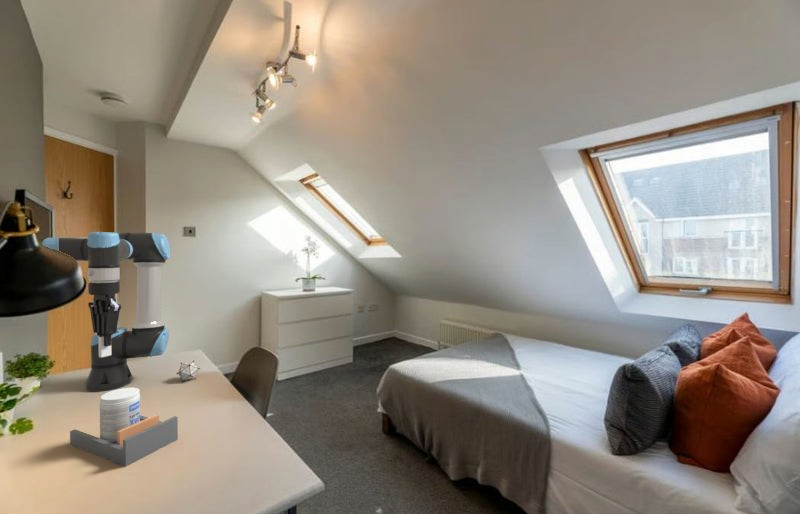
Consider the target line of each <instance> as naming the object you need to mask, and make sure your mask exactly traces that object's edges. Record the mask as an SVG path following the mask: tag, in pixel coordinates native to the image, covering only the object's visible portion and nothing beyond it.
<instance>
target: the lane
mask: <svg viewBox="0 0 800 514" xmlns="http://www.w3.org/2000/svg"><path fill="white" fill-rule="evenodd" d="M147 418H148V417H147V416H143V415H141V414H140V421H142V420H145V419H147ZM178 418H179V417H178V416H175V415H174V416H172V417H169V418H168V419H165V420H163V421H160V420H159V424H157V425H154V426H152V427H150V428H148V429H146V430H143V431H141V432H139V433H137V434H135V435H133V436H130V437H128V438H126V439H124V440H123V447H122V446H120V445H117V444H114V443H111V442H109V441H106V440H103V439H100V437H97V436H94V435H91V434H90V433H86V432H84V431H81V430H78V429H76V428H75V429H73V430H69V444H70V445H71V446H73V447H75V448H78V449H80V450H83V451H85V452H88V453H91V454H93V455H96V456H97V457H98V456H99V457H101V458H104V459H106V460H109V461H111V462H114V463H116V464H119V465H121V466H124V467H128V466H130V465H132V464H133V463H136V462H137V461H139V460H141V459H144V457H146V456H148V455H150V454H152V453H154V452H156V451H158V450H160V449H162V448H164V447H167V446H168V445H170V444H172V443H173V442H176V441H177V440H178V436H179V434H178V424H179V423H178V420H179V419H178Z"/></svg>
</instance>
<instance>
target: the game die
mask: <svg viewBox="0 0 800 514" xmlns="http://www.w3.org/2000/svg"><path fill="white" fill-rule="evenodd" d="M199 370H201V368H200V367H198V366H197V364H195V360H192V361H191V362H184V363H183V362H180V367H179V370H178V372H176V373H175V374H176V375H178V376H179V377H180V379H182V380H181V382H182V383H183V382H184V381H187V380H191V379H194V380H197V373H198V371H199Z"/></svg>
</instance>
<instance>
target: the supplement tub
mask: <svg viewBox="0 0 800 514" xmlns="http://www.w3.org/2000/svg"><path fill="white" fill-rule="evenodd" d="M140 415H141V393H140V389H139V388H138V387H123V388H122V387H121V388H116V389H112V390H111V391H110V390H109V391H108V392H106V393H104V394H102V395H101V396H100V401H99V436H100V437H99V438H100V439H103V440H106V441H109V442H111V443H114V444H117V431H119V430H121V429H124V428H126V427H128V426H131V425H133V424H135V423H138V422H140Z"/></svg>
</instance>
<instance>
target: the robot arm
mask: <svg viewBox="0 0 800 514" xmlns="http://www.w3.org/2000/svg"><path fill="white" fill-rule="evenodd" d="M87 235H88V236H87V237H59V236H58V237H46V238H45V239H44V240H43V241H42V242H41V244H42V245H43V246H45V247H48V248H50V249H55V250H58V251H61V252H63V253H66V254H68V255H70V256H71V257H73V258H74V259H75V260H76V261H75V262H78V261H79V262H88V263H87V265H88V266H87V267H88V268H87V269H88V270H87V273H86V274H87V276H88V281H89V283H88V285H87V286H88V287H87V288H88V295H90V296H93V298H92V300H93V301H90V302H88V303H87V305H88V308H89V311H90V312H89V313H90V318H91V323H92V324H91V325H92V331H93V333H94V334H93V335H91V339H90V345H89V346H90V363H91V364H90V366H91V367H90V368H91V369H90V372H89V375H88V376H87V379H86V382H85V390H86V391H88V392H104V391H105V392H106V391H110V390H111V391H112V390H116V389H120V388H122V387H124V386H127V385H129V384H130V383H132V381H133V374H132V372H131V369H130V368H129V366H128V359H137V358H139V359H140V358H147V357H149V358H152V357H157V356H162V355H163V354H164V353H165V352H166V350H167V347H168V343H169V338H170V330H169V328H168V327H167V328H166V327H165V323H164V322H162V320H161V312H162V311H161V309H162V307H161V305H162V267H164V265H165V264H166V261H168V260H169V259H170V258H171V249H170V248H171V246H170V243H169V240H168V238H167V236H166V234H164V233H158V232H114V231H113V232H110V231H109V232H108V231H107V232H105V231H91V232H89V233H88V234H87ZM125 260H132V262H133V263H132V264H133V265H134V266H135V267H136V268H137V269H136V271H137V273H136V275H137V277H136V280H137V281H136V285H137V286H136V323H135V324H133V326H132V327H131V330H128V328H127V327H118V324H119V316H120V312H121V309H122V304H118V303H117V302H116V301H117V300H116V295H117V294H119V293H120V291H121V287H120V286H121V284H120V283H121V282H120V281H119V280H120V278H121V277H120V275H121V273H120V270H121V269H120V262H122V261H125Z"/></svg>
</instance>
